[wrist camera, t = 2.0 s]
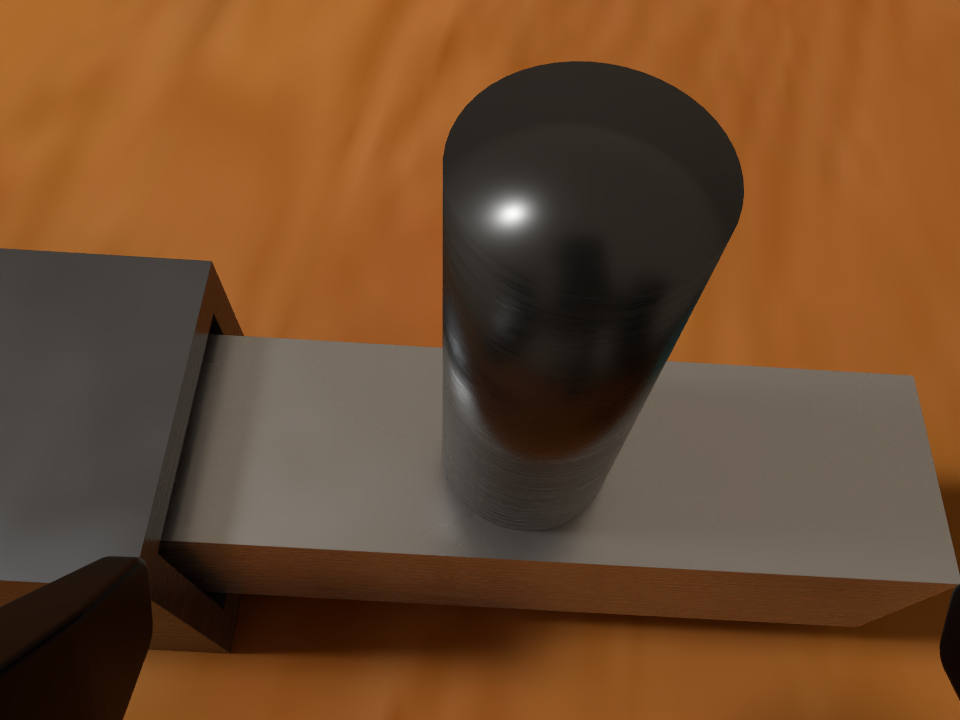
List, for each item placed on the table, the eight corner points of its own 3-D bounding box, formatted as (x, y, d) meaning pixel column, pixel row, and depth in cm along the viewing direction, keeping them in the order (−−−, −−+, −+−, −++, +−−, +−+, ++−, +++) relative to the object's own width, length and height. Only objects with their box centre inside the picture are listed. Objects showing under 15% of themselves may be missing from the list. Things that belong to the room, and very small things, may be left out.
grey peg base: (-329, 562, 17) (-1460, 220, 7) (-240, 390, 19) (-1026, -76, 9) (856, 626, 17) (1433, 393, 7) (827, 452, 19) (1252, 73, 9)
